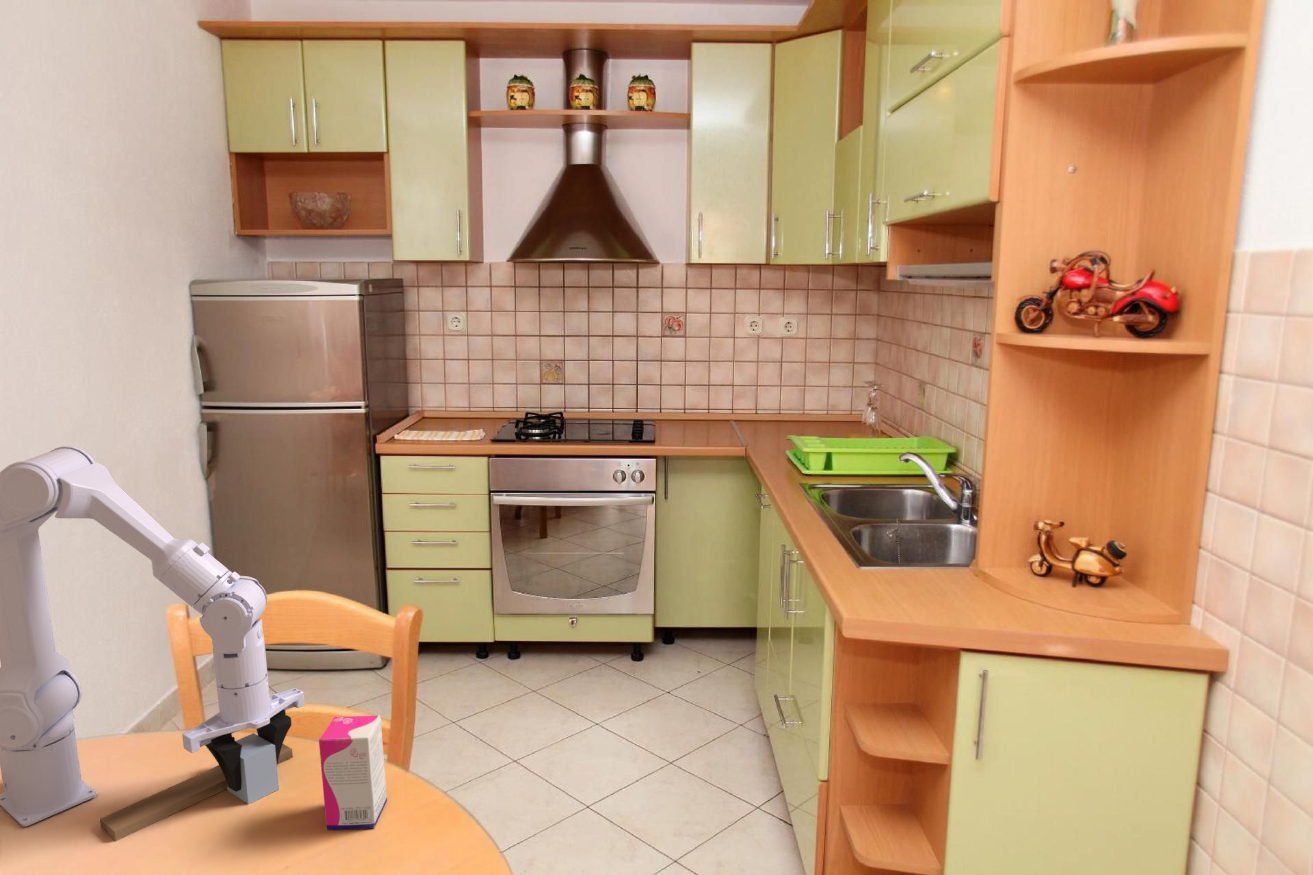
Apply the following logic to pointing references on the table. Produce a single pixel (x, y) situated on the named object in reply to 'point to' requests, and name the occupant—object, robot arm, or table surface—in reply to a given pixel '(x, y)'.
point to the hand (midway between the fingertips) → (252, 779)
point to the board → (169, 801)
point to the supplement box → (353, 772)
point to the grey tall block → (256, 769)
